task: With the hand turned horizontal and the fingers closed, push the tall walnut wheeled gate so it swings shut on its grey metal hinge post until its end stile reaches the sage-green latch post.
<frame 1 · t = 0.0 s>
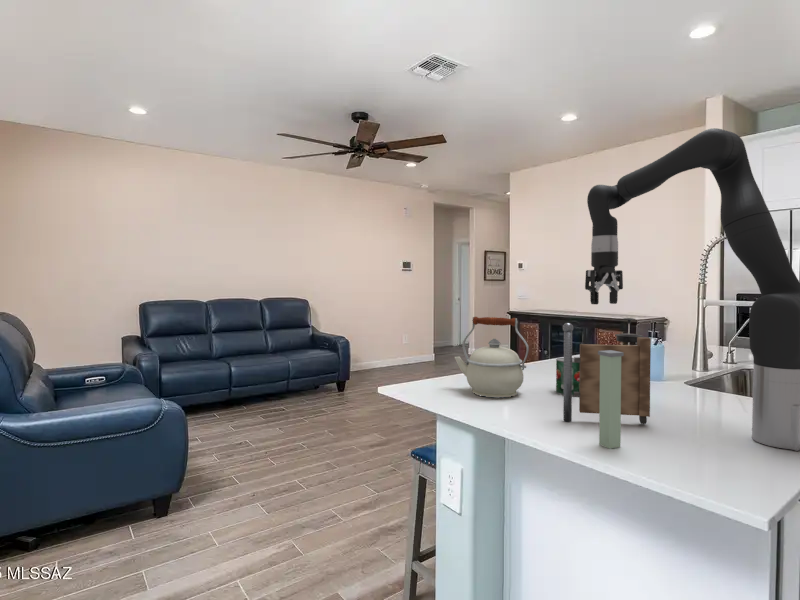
hand: (604, 303, 139), 29 cm above the worktop, tool pointing down, fingers open, 8 cm apart
latch post: (609, 445, 100), on the worktop
hinge post: (567, 420, 118), on the worktop
kettle: (489, 393, 149), on the worktop
gate: (610, 379, 115), point 11 cm above the worktop, hinge at 60.0°
french press: (629, 382, 163), on the worktop
canned tomato: (568, 393, 148), on the worktop
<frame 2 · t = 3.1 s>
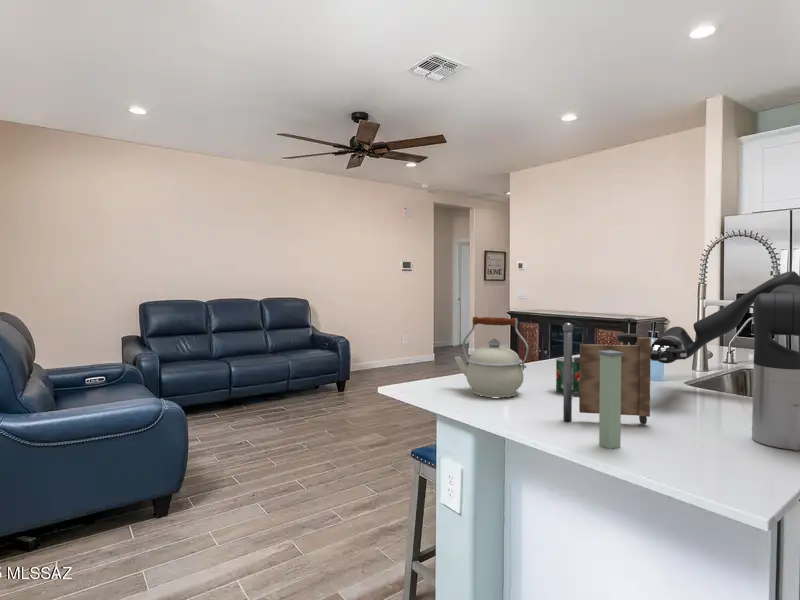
hand: (653, 356, 124), 15 cm above the worktop, tool horizontal, fingers closed
nothing on the worktop moved.
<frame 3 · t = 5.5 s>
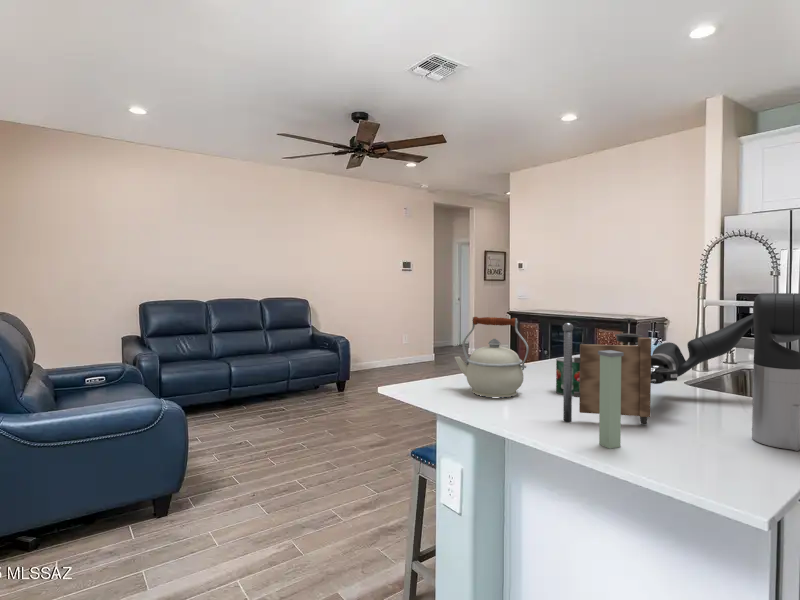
hand: (641, 378, 115), 12 cm above the worktop, tool horizontal, fingers closed
gate: (611, 380, 115), point 11 cm above the worktop, hinge at 58.5°, touching gripper
everything else where it was.
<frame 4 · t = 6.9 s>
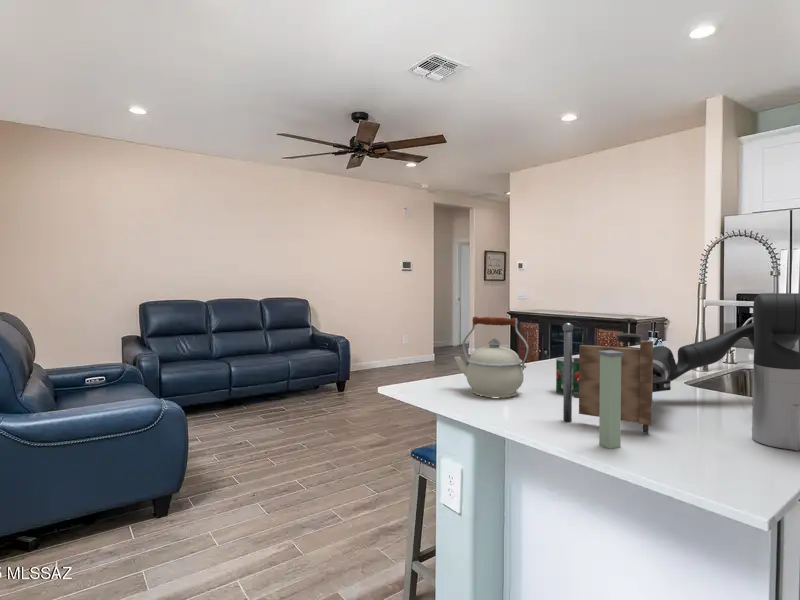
hand: (634, 390, 109), 10 cm above the worktop, tool horizontal, fingers closed
gate: (611, 383, 111), point 11 cm above the worktop, hinge at 36.8°, touching gripper
everything else where it was.
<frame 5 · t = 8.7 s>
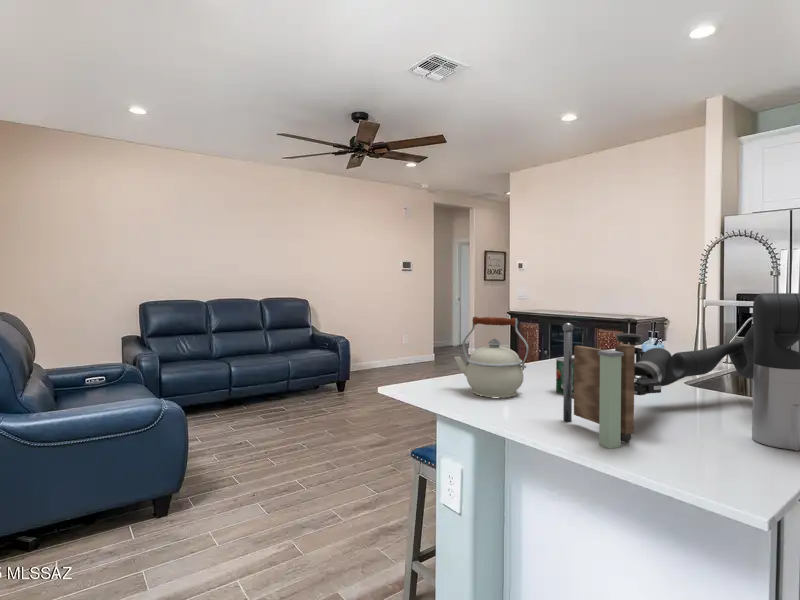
hand: (621, 390, 103), 11 cm above the worktop, tool horizontal, fingers closed
gate: (598, 386, 108), point 11 cm above the worktop, hinge at 4.0°, touching gripper
everything else where it was.
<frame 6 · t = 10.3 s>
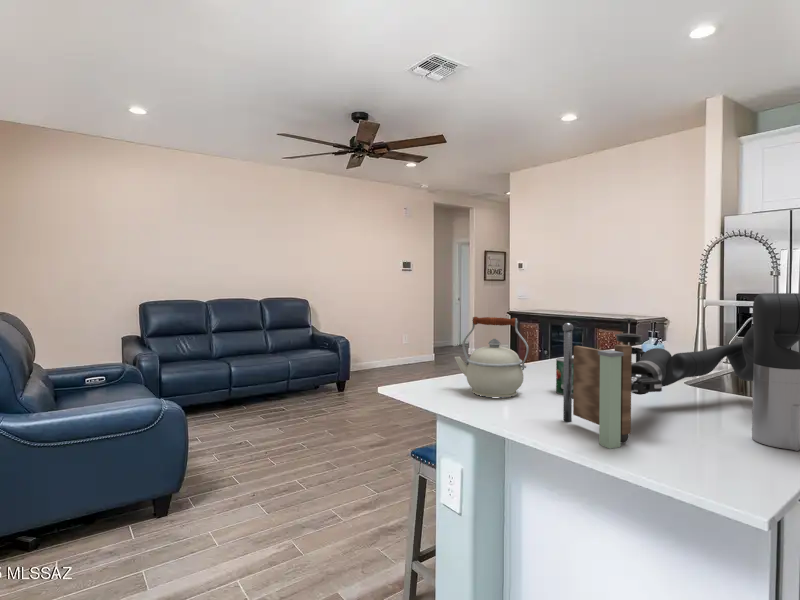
hand: (621, 388, 102), 12 cm above the worktop, tool horizontal, fingers closed
gate: (597, 386, 108), point 11 cm above the worktop, hinge at 1.2°
everything else where it was.
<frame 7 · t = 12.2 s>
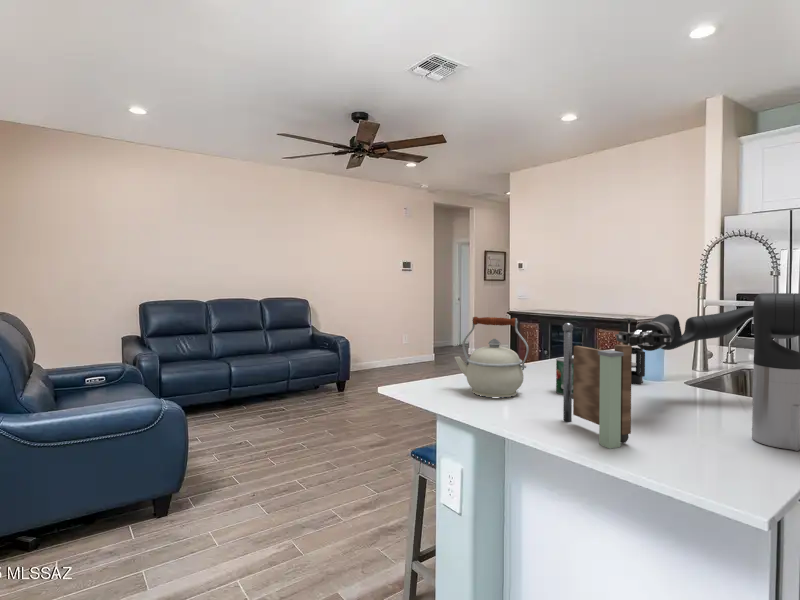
hand: (633, 340, 111), 22 cm above the worktop, tool horizontal, fingers closed
nothing on the worktop moved.
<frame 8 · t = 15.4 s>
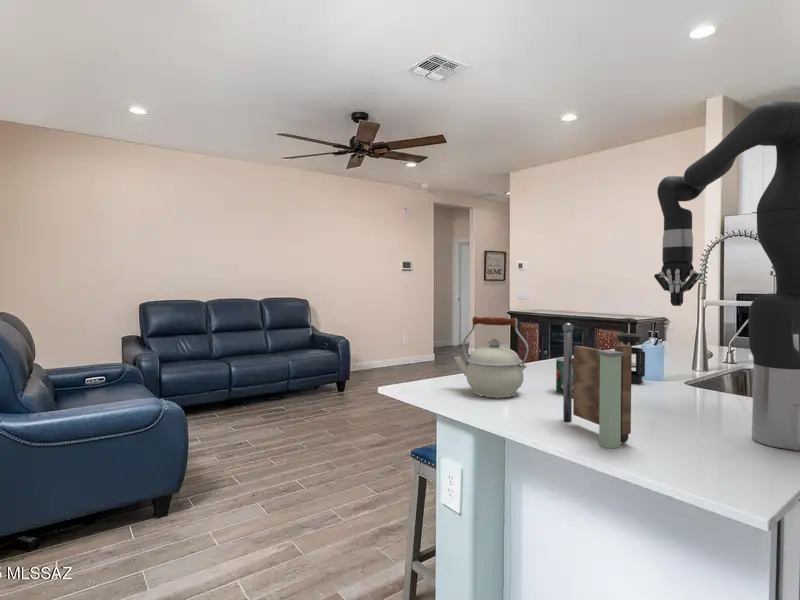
hand: (676, 305, 132), 29 cm above the worktop, tool pointing down, fingers closed
nothing on the worktop moved.
at the end: gate at +1° (first picture: +60°); the gripper is holding nothing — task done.
